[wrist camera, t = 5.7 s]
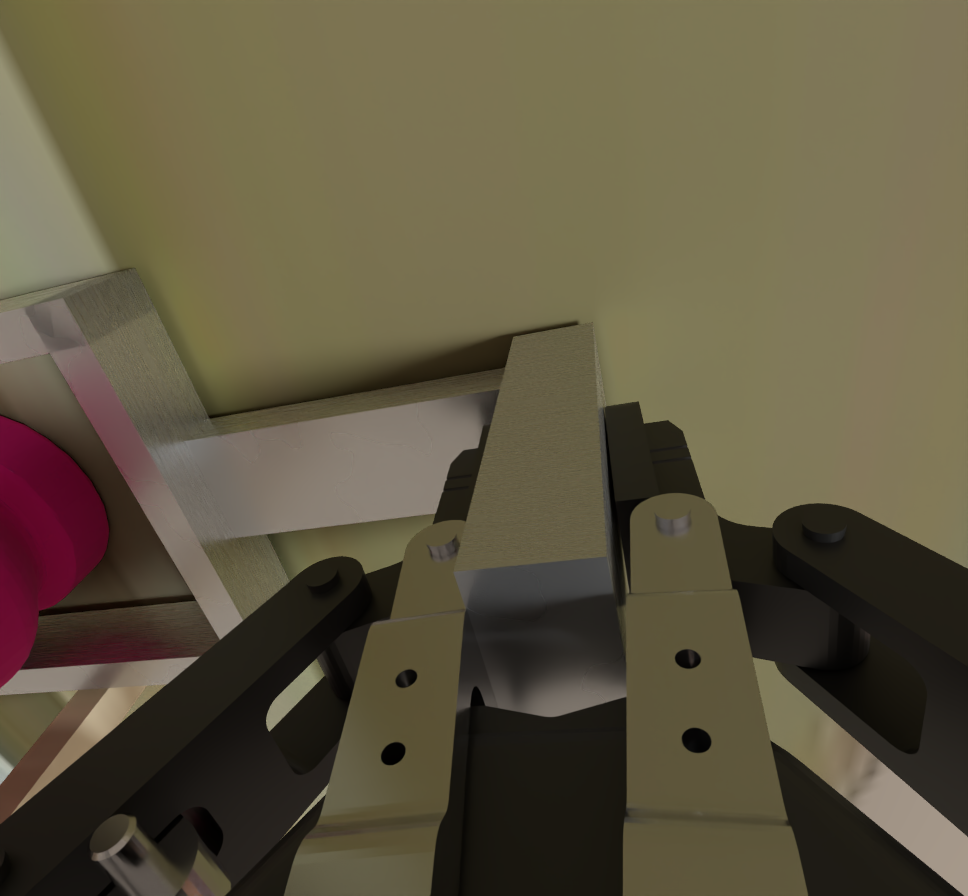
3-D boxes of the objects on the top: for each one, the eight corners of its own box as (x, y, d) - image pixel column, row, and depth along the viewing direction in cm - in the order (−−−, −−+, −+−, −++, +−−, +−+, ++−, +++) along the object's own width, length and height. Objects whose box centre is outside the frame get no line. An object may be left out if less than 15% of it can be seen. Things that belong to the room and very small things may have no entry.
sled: (-232, 356, 17) (-759, 536, 11) (567, 163, 12) (552, 264, 6) (2, 642, 22) (-251, 888, 16) (635, 586, 18) (671, 911, 11)
